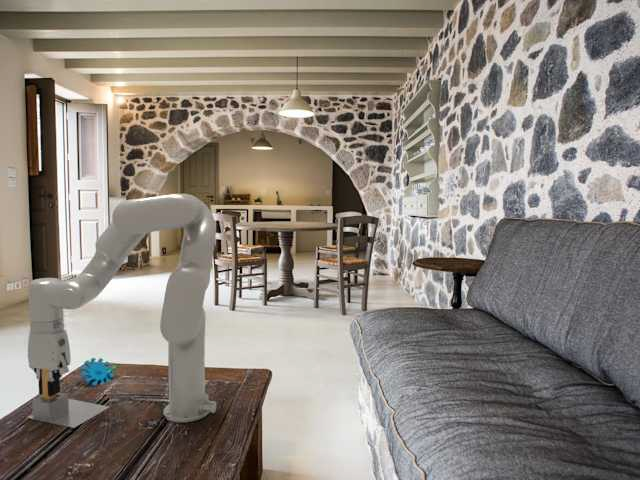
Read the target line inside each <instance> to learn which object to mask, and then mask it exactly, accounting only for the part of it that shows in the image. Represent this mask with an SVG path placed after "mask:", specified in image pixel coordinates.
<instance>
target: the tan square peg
mask: <svg viewBox="0 0 640 480" xmlns="http://www.w3.org/2000/svg"><path fill="white" fill-rule="evenodd" d="M55 373H56V371H54V374H55ZM48 381H49V370H45V369H42V393H43V394H42V395H43V400H48V401H50V400H52V399H55V398H56V394H55V395H53V396H48V385H47V383H48Z"/></svg>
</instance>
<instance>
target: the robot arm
mask: <svg viewBox="0 0 640 480" xmlns="http://www.w3.org/2000/svg"><path fill="white" fill-rule="evenodd" d="M111 216H112V217H111V219H112V222H110V224H109V225H108V226H107V227H106V229H105V230H104V231H103V232H102V234H101V235H100V236H99V237H98V238H97V239H96V241H95V244H94V245H95V251H94V252H95V253H94V254H93V257H92V258H91V260H90V261H89V262H88V264H87V265H86V266H85V267H84V269H83V270H82V271H81V273H79V275H78V276H75V277H72V278H70V279H67V280H63V281H62V280H60V279H59V278H56V277H43V278H42V277H41V278H36V279H33V280H31V281H30V282H29V284H28V285H27V286H28V287H27V289H28V290H27V291H28V311H29V312H28V313H29V334H28V342H27V343H28V344H27V360H28V367H29V368H30V369H31V370H33V372H34V373H35V375H36V376H35V377H36V379H37V380H38V394H39V395H40V396H42V395H43V393H42V369H45V370H49V381H48V383H47V385H48V396H53V395H55V394H57V393H61V382H60V381H61V380H60V379H62V376H63V375H65V374H67V373H69V372H70V369H69V366H70V365H71V360H72V359H71V358H72V357H71V349H70V342H69V337H68V334H67V331H66V329H65V323H64V309H65V310H76V309H79V308H82V307H83V306H85V305H87V304H88V303H89V302H91V301H92V300H94V299H95V298H97V297H98V296H99V295H100V294H101V293H102V292H103V291H104V290H105V288H106V287H107V285H108V284H109V283H110V282H111V281H112V279H113V278H114V277H115V276H116V274H117V272H118V271H119V269H120V268H121V267H122V266H123V265H124V263H125V261H126V259H127V258H128V257H129V256H130V254H131V253H132V252H133V251H134V250H135V248H136V247H137V246H138V245H139V243H140V242H141V241H142V240H143V238H144V237H146V235H147V234H148V233H152V232H154V233H155V232H160V231H166V230H174V229H181V228H183V237H182V241H181V247H180V253H179V257H178V258H179V259H178V264H177V267H175V269H174V270H172V272H171V273H170V275H169V276H168V280H167V281H166V287H165V293H164V297H163V305H162V308H161V309H162V310H161V316H160V322H159V323H160V326H159V327H160V333H161V335H162V337H163V338H164V340H165V341H166V342H168V348H167V349H168V351H167V352H168V354H167V355H168V358H167V359H168V363H167V364H168V366H167V367H168V404H166V406H165V407H164V409H163V411H162V412H163V417H164V419H166V421H170V422H173V423H190V422H195V421H198V420H201V419H203V418H205V417H206V416H208V415H209V414H210V413H211V414H214V413H215V412H216V410H217V404H218V403H217V401H215V400H210V399H209V397H210V396H209V394H207V393H206V378H205V375H206V373H205V371H206V370H205V368H206V366H205V365H206V363H205V356H206V354H205V351H206V350H205V348H206V347H205V346H206V345H205V342H206V312H205V307H204V301H205V294H206V291H207V290H208V287H209V285H210V282H211V273H212V271H211V269H212V266H213V265H212V264H213V258H214V252H215V251H214V250H215V244H216V243H215V242H216V235H217V229H216V221H215V217H214V215H213V213H212V211H211V210H210V208H209V207H208V205H206V204H205V203H204V202H203V201H202V200H200V199H199V198H198V197H196V196H194V195H192V194H188V193H172V194H171V193H170V194H165V195H158V196H151V197H143V198H133V199H126V200H124V201H121V202H119V203H118V204H117V205H116V206H115V207H114V210H113V211H112V214H111ZM54 371H56V373H55V374H54Z"/></svg>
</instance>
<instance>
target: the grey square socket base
mask: <svg viewBox="0 0 640 480" xmlns="http://www.w3.org/2000/svg"><path fill="white" fill-rule="evenodd" d="M31 402H32V407H31V408H32V414H31V415H28V416H27V417H26V418H27V419H32V420H37V421H41V422H46V423H51V424H55V425H59V426H64V427H70V428H73V429H74V428H76V427H79V425H81V424H83V423H85V422H86V421H89V420H90V419H92V418H94V417H95V416H97V415H98V414H100V413H103V411H105V410H107V409H108V408H109V409H110V406H108V405H104V404H103V405H102V404H97V403H92V402H88V401H83V400H78V399H73V398H69V394H68V393H64V392H59V393H57V394H56V398H55V399H52V400H50V401H48V400H43V394H42V395H40V396H38V397H36V398H34V399H32V401H31Z"/></svg>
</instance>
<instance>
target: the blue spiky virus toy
mask: <svg viewBox="0 0 640 480" xmlns="http://www.w3.org/2000/svg"><path fill="white" fill-rule="evenodd" d="M96 360H97V363H95V362H96ZM103 361H104V359H103V358H101V357H99V359H96V358H95V357H91V359H90V360H88V359H87V360H85V361H84V362H83V363H84V365H82V366H81V368H80V370H81V371H82V372H81V374H80V375H81V377H82V378H85V377H86V378H85V379H84V382H85V384H89V382H91V381H93V382H92V383H91V386H92V387H97V385H98V382H100V383H99V386H102V385H104V384H105V382H106V383H109V382H111V381H112V380H111V379H112V378H113V377H114V376H115V374H114V373H113V371H114V370H115V369H116V365H112V366H111V367H108V366H110V362H109V361H105V362H104V363H103ZM90 362H91V364H90ZM102 363H103V364H102ZM104 380H105V381H104Z"/></svg>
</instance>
